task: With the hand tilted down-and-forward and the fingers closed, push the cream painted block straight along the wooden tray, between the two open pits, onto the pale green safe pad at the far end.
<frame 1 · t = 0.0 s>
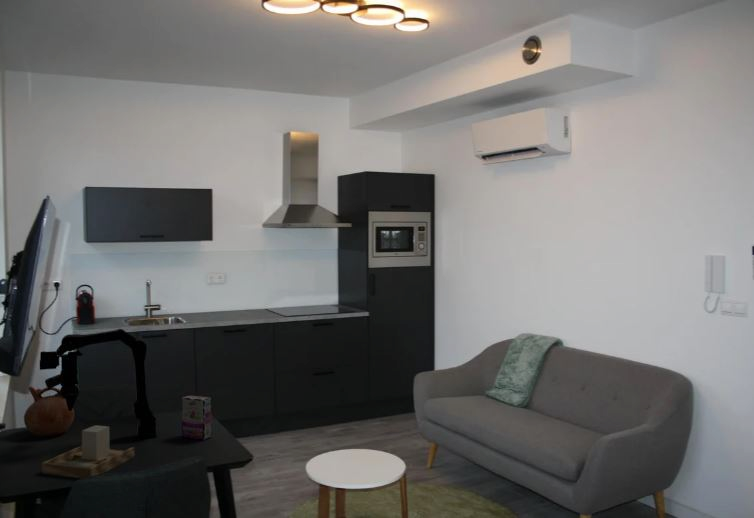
hand: (69, 407, 254), 15 cm above the table, tool pointing down, fingers open, 9 cm apart
candy bar box: (196, 437, 266), on the table
wooden tray: (90, 464, 233), on the table
cream block: (96, 456, 236), point 2 cm above the table, touching wooden tray
jug: (49, 434, 269), on the table
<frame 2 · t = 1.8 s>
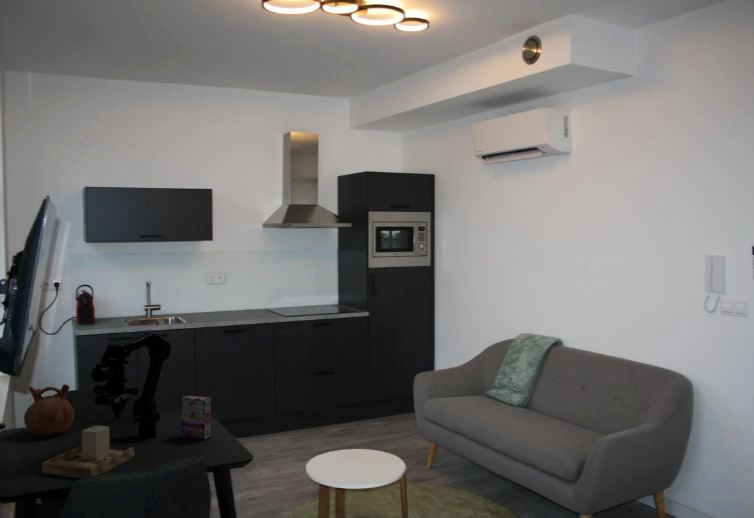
hand: (117, 418, 250), 12 cm above the table, tool pointing down, fingers closed
nothing on the table moved.
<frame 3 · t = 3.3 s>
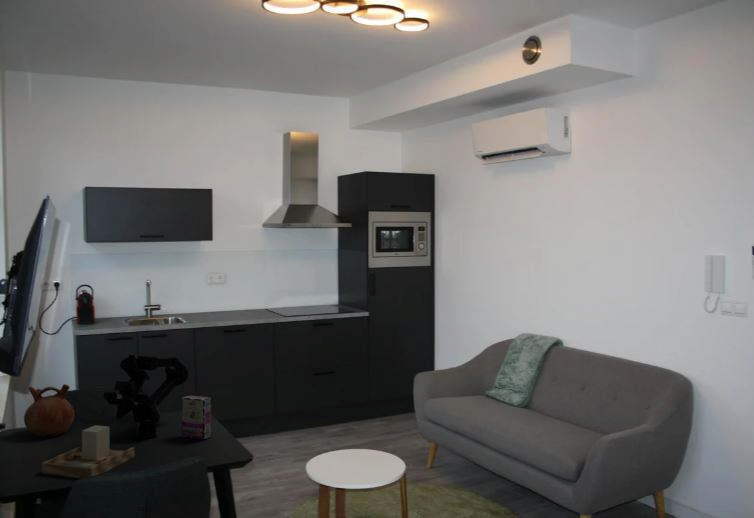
hand: (117, 419, 248), 12 cm above the table, tool tilted 45°, fingers closed
nothing on the table moved.
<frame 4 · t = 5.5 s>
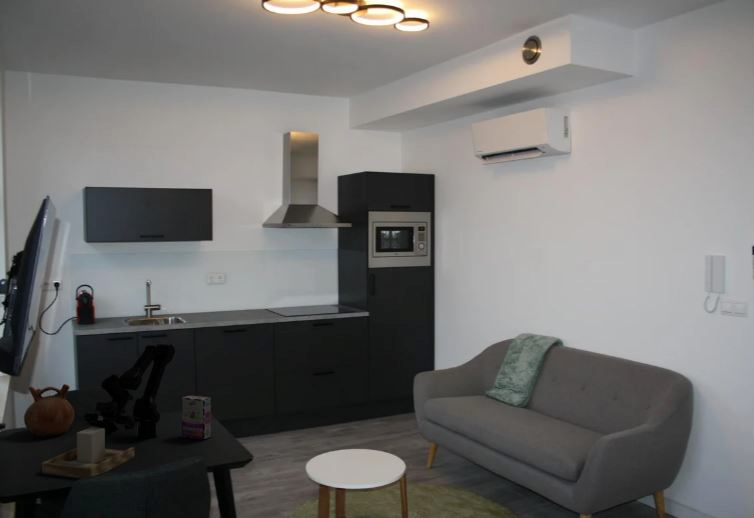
hand: (98, 441, 237), 7 cm above the table, tool tilted 45°, fingers closed
cream block: (91, 458, 234), point 2 cm above the table, touching wooden tray
everything else where it was.
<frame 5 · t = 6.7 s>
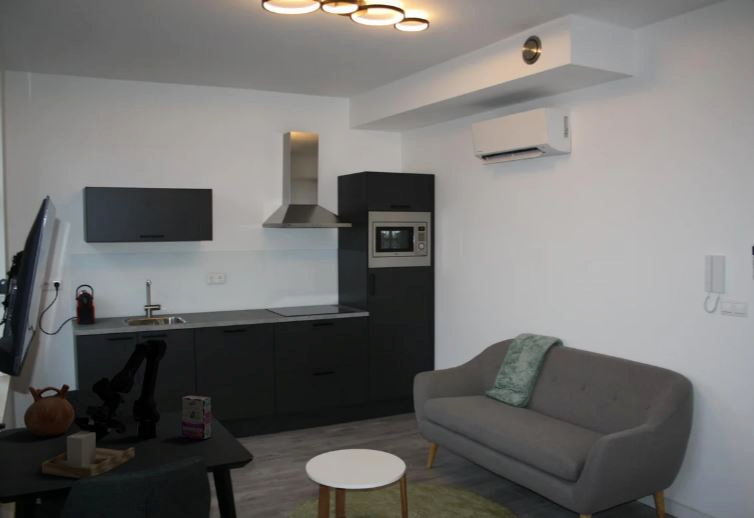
hand: (88, 446, 233), 7 cm above the table, tool tilted 45°, fingers closed, pressing on cream block
cream block: (81, 463, 229), point 2 cm above the table, touching gripper, wooden tray
everything else where it was.
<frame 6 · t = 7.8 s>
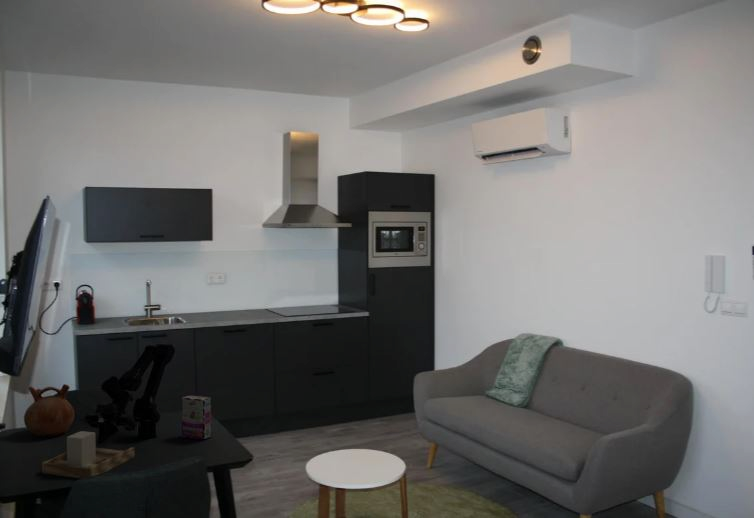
hand: (99, 443, 238), 6 cm above the table, tool tilted 45°, fingers closed
cream block: (81, 463, 229), point 2 cm above the table, touching wooden tray
everything else where it was.
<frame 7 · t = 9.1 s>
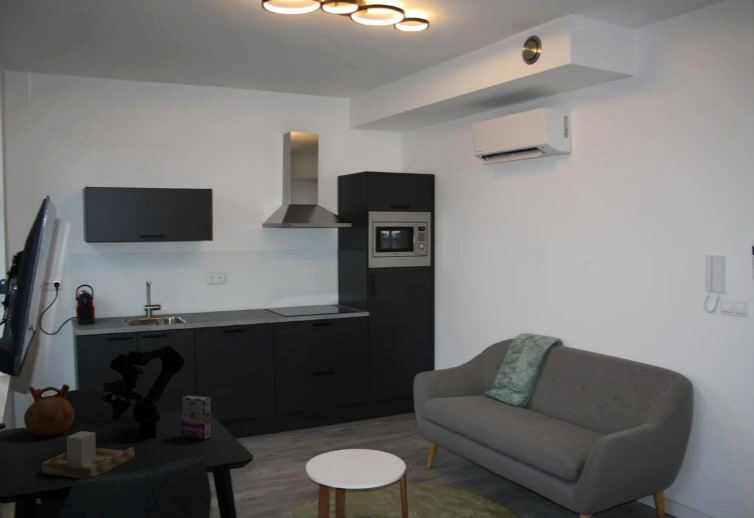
hand: (113, 419, 246), 12 cm above the table, tool tilted 35°, fingers closed
nothing on the table moved.
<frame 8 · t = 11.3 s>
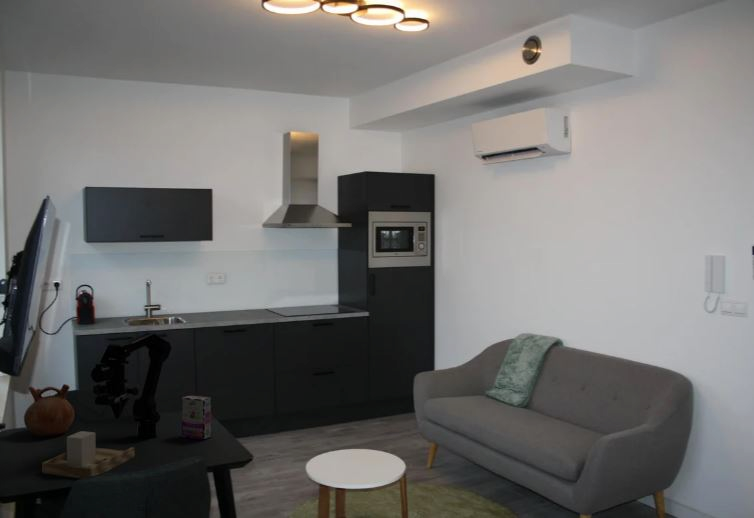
hand: (117, 418, 250), 12 cm above the table, tool pointing down, fingers closed
nothing on the table moved.
at the end: cream block inside the target area (1.1 cm from its centre), point 2.0 cm above the table; cream block tilted 0°; cream block moved 7.5 cm from its start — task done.
